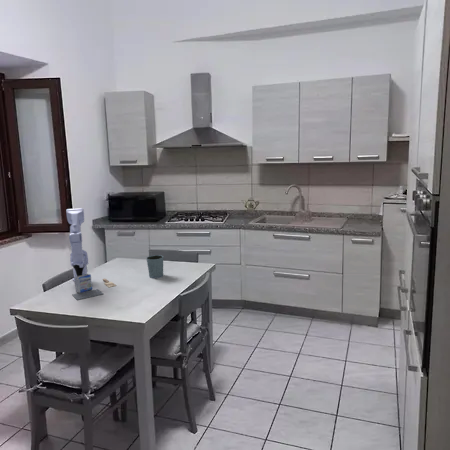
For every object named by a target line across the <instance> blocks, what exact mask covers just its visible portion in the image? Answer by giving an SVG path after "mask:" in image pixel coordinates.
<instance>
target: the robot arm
mask: <svg viewBox="0 0 450 450" xmlns="http://www.w3.org/2000/svg"><path fill="white" fill-rule="evenodd" d="M65 212H66V220H67V222H68V224H69V225H70V226H69V234H68V240H69V244H70V247H71V248H70V249H71V253H70V256H69V257H70V266H71V267H72V268H73V269H72V271H73V273H72V274H73V278H72V280H73V281H74V277H77V276H81V275H84V274H88V269H87V266H88V265H89V255H88V252H87V251H86V250H84V249H83V235H82V230H81V229H82V227H81V226H82V224H83V223H84V222H85V210H84V208H83V207H80V208H67V209H66V211H65Z"/></svg>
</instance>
